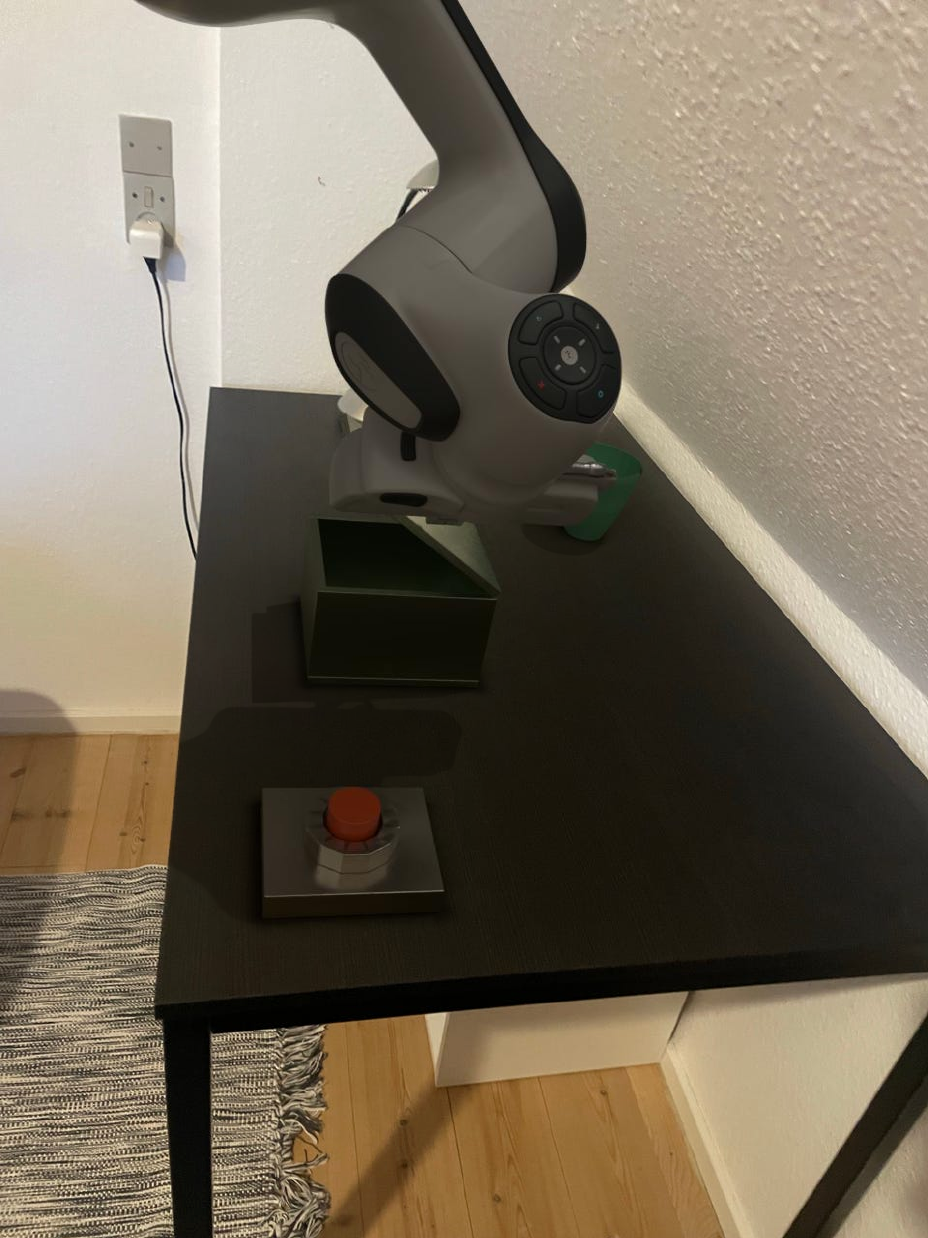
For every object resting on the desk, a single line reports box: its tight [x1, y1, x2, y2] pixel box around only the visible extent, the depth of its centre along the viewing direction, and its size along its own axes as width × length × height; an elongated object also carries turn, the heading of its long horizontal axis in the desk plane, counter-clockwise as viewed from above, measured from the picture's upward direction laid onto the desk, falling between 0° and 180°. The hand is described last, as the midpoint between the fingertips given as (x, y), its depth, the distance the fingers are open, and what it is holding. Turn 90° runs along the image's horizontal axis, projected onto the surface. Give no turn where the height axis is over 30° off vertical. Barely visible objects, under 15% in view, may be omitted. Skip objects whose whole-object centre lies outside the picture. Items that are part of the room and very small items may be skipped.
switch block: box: [260, 786, 445, 919], centre depth 67 cm, size 12×10×4 cm
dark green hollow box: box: [300, 513, 498, 689], centre depth 88 cm, size 16×14×10 cm
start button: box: [326, 786, 381, 842], centre depth 65 cm, size 4×4×2 cm
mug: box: [563, 441, 644, 542], centre depth 118 cm, size 15×10×10 cm
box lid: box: [339, 412, 502, 598], centre depth 83 cm, size 16×14×5 cm
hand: (442, 516), depth 79 cm, fingers closed
